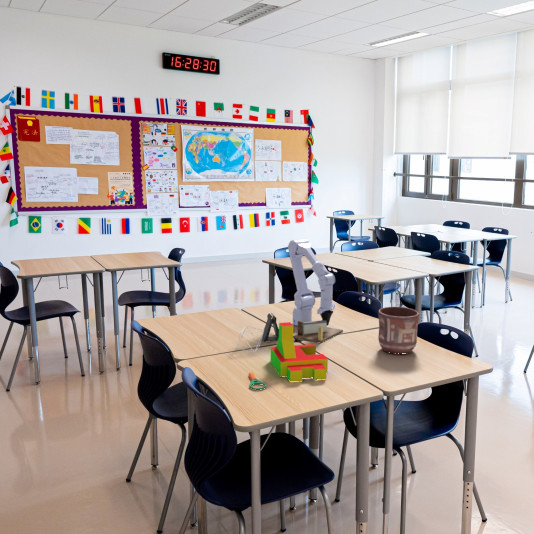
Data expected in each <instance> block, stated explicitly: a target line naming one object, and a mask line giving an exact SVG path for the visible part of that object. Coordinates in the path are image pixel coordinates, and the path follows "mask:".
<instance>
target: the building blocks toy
mask: <svg viewBox="0 0 534 534" xmlns="http://www.w3.org/2000/svg"><path fill="white" fill-rule="evenodd" d="M278 329H279V338H278V341H276V346H270V361H269V362H272V363H271V365H272V364H273V365H272V366H273V368H274V367H275V368H274V369H275V371H276V370H277V371H276V373H277V372H278V373H279V374H278V373H277V374H278V376H279V375H280V376H281V377H282V376H287V377H288V379H289V380H290V381H302V382H303V379H302V378H311V377H313V379H314V380H317V379H326V380H327V374H328V367H329V366H328V363H329V362H328V361H329V359H328V358H327V356H325V355H324V353H321V354H320V353H319V354H316V353H317V351H316V349H317V348H316V347H317V346H316V345H315V344H314V343H312V344H297V345H295V343H294V342H295V341H294V338H293V336H294V325H292V322H290V321H289V322H286V321H285V322H278ZM326 373H327V374H326ZM280 376H279V377H280ZM281 377H280V378H281ZM287 377H286V378H287ZM288 379H287V380H288ZM313 379H312V380H313ZM289 380H288V381H289ZM314 380H313V381H314Z"/></svg>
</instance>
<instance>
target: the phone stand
mask: <svg viewBox="0 0 534 534" xmlns="http://www.w3.org/2000/svg"><path fill="white" fill-rule="evenodd" d="M272 327H273V331H274V334H275V336H270V334H271V330H272ZM263 330H264V333H263V332H262V333H263V336H262V337H261V336H260V338H262V341H263V342H265V343H266V341H270V342H277V341H278V338H279V325H278V324H277V317H276V316H275V315H274V313H272V312H271V313H268V314H267V320H266V322H265V326H264V328H263Z"/></svg>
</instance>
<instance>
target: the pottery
mask: <svg viewBox="0 0 534 534" xmlns="http://www.w3.org/2000/svg"><path fill="white" fill-rule="evenodd" d="M377 315H378V339H377V340H378V344H379V346H380V348H381V349H382V350H383V351H384V350H385V351H386V353H387V352H390V353H396V354H398V353H399V354H402V353H408V354H410V353H411V352H412V351H413V350H414V349H415V347H416V345H417V343H418V342H417V340H418V327H419V326H418V325H419V320H420V319H419V318H420V313H419V312H418V311H417V310H416V309H413V308H409V307H405V306H387V307H386V306H385V307H381V308H380V309H378V314H377ZM385 351H384V352H385ZM409 352H410V353H409ZM390 353H389V354H390Z"/></svg>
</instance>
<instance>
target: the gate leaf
mask: <svg viewBox="0 0 534 534" xmlns="http://www.w3.org/2000/svg"><path fill="white" fill-rule="evenodd" d="M319 326H321V327H323V332H326V327H328V326H327V321H326V320H312V321H311V322H303V334H310V333H318V327H319Z"/></svg>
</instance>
